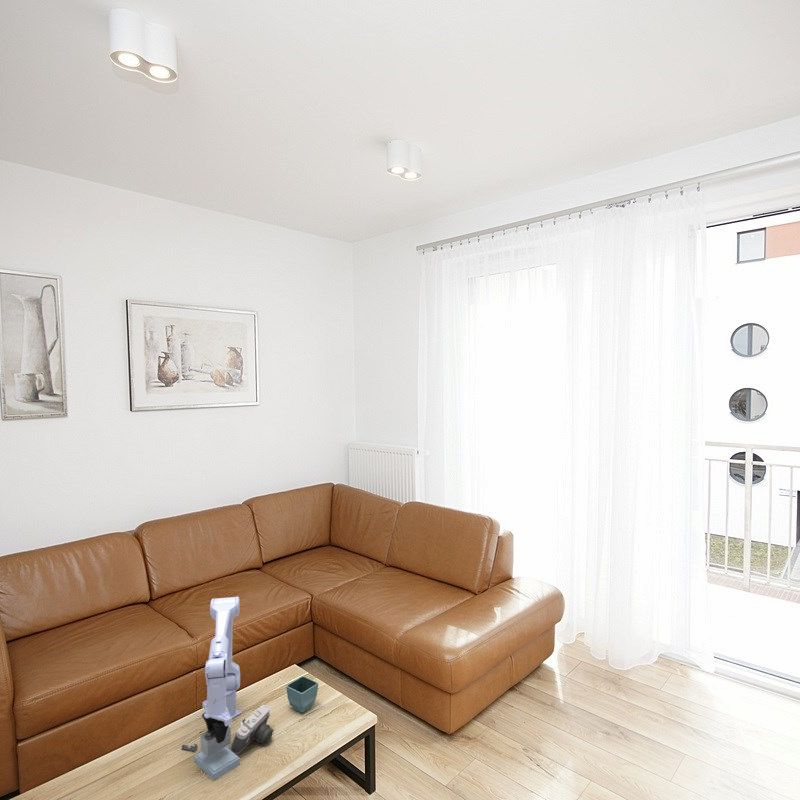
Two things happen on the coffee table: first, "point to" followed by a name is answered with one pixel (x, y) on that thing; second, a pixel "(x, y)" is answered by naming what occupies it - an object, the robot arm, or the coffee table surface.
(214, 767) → the stand
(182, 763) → the coffee table surface
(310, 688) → the flower pot
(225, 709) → the robot arm
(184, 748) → the bolt
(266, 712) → the camera
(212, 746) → the block
